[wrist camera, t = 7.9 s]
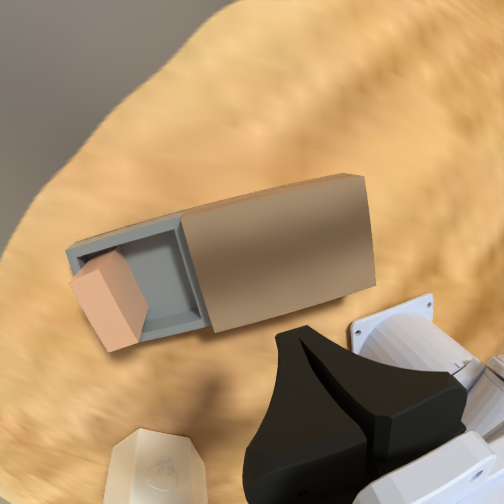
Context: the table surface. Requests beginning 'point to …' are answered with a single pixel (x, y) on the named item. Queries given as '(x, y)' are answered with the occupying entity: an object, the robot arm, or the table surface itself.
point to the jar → (155, 470)
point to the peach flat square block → (111, 299)
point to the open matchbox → (281, 249)
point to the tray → (154, 272)
